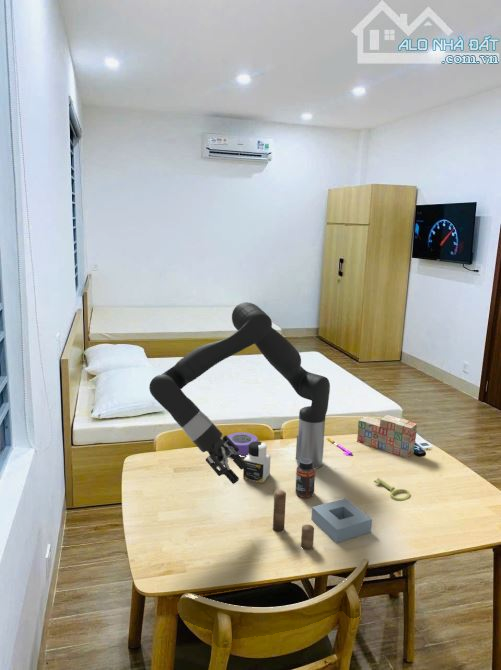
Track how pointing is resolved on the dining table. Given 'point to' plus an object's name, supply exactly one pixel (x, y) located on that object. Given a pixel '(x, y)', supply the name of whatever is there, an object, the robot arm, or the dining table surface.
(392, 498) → the key
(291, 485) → the dining table surface
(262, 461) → the medicine bottle
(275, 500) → the walnut pin tall
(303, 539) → the walnut pin short
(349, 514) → the collar block
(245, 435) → the tape roll
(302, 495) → the supplement bottle
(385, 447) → the stack of blocks
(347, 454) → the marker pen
